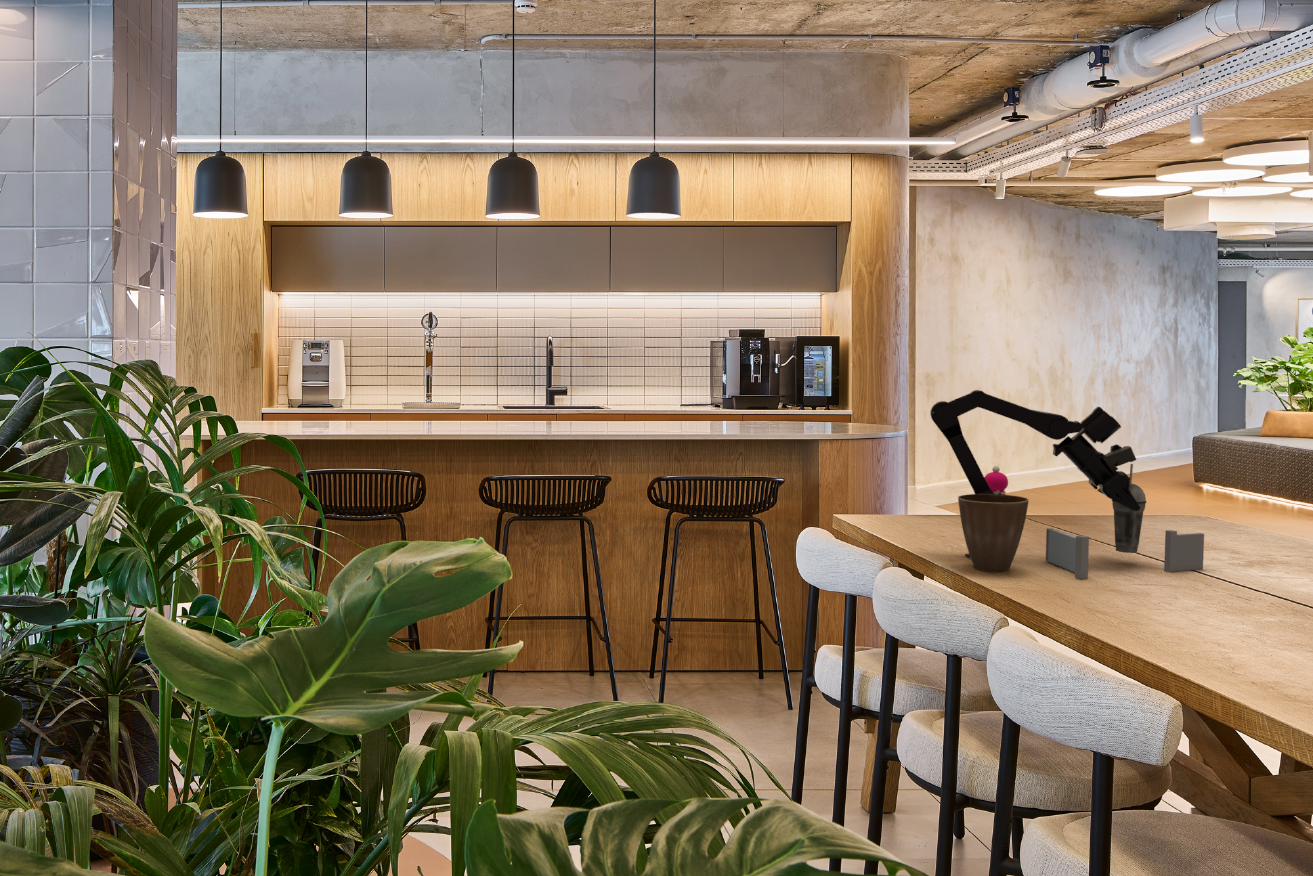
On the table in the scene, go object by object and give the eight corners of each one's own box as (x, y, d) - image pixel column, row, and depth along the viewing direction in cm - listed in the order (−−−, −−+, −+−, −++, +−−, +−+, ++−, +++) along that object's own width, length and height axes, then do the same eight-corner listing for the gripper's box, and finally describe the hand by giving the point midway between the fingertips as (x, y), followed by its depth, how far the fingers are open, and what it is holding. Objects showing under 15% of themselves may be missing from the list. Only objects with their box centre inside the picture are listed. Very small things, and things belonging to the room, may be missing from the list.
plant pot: (1031, 577, 217) (1033, 503, 216) (959, 574, 220) (961, 501, 219) (1021, 564, 232) (1023, 494, 231) (953, 561, 235) (955, 493, 234)
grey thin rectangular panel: (1088, 575, 218) (1089, 541, 217) (1081, 575, 218) (1083, 541, 217) (1051, 560, 235) (1052, 528, 235) (1045, 560, 235) (1046, 528, 235)
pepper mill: (1013, 546, 256) (1015, 467, 255) (984, 546, 256) (986, 467, 255) (1003, 541, 263) (1005, 464, 262) (975, 541, 263) (977, 464, 262)
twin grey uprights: (1080, 579, 215) (1082, 537, 215) (1074, 577, 217) (1076, 535, 216) (1204, 569, 226) (1205, 529, 225) (1197, 568, 228) (1198, 528, 227)
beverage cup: (1105, 551, 231) (1110, 464, 230) (1112, 547, 237) (1116, 462, 236) (1140, 555, 227) (1145, 466, 226) (1146, 550, 233) (1151, 464, 232)
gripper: (1122, 436, 222) (1174, 488, 220) (1105, 431, 240) (1154, 479, 238) (1081, 470, 225) (1133, 522, 223) (1068, 462, 243) (1116, 511, 241)
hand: (1135, 507), depth 231 cm, fingers closed on beverage cup, 7 cm apart
